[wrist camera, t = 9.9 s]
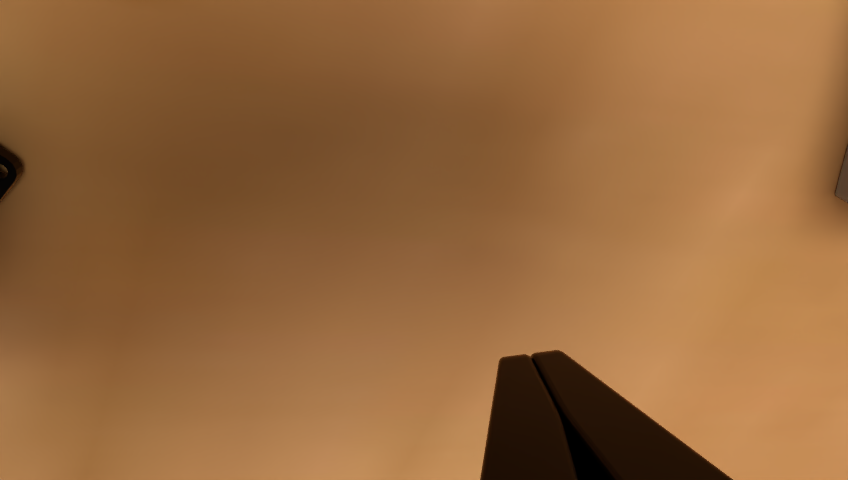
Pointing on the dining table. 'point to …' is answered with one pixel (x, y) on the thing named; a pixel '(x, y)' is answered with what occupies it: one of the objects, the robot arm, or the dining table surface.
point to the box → (843, 180)
